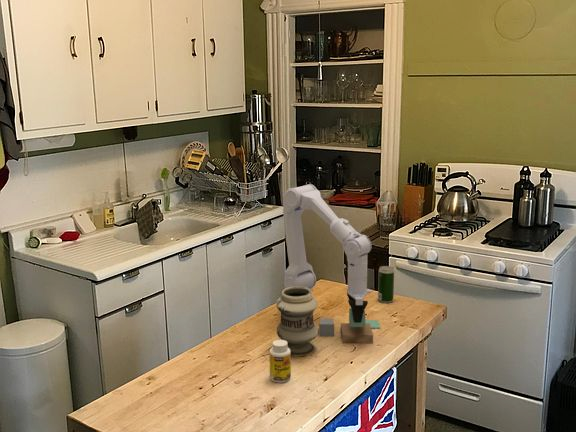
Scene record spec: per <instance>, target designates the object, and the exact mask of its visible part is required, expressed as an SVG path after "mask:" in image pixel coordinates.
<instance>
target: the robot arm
mask: <svg viewBox="0 0 576 432" xmlns="http://www.w3.org/2000/svg"><path fill="white" fill-rule="evenodd" d="M282 200H283V209H282V213H283V222H284V227H285V236H286V245H287V251H288V253H287V254H288V259H289V260H288V261H289V265H288V267H287V268H286V269H285V271H284V281H283V284H284V285H283V286H284V289H286V288H289V287H294V286H301V287H306V288H309V289H310V290H311V292H312V291H314V290H313V288H314V287H315V286H316V284H317V276H316V274H315V272H314V270H313V269H314V268H313V266H312V265H311V264H310V263H309V262H308V260H307V254H306V246H305V238H304V231H303V223H302V214H303V213H304V212H305V210H309V211H310V210H312V211H314V213H316V215H317V216H319V218H321V219H322V221H324V222H325V223H326V224H328V225H329V231H330V233H331V234H332V235H333V236H334V237H335V238H336V239H337V241H338V242H340V244H342V246H343V252H344V253H345V255H346V261H347V289H346V296H347V297H348V299H347V301H348V304H349V308H351V309H352V314H353V320H354V323H361V321H362V317H363V313H364V310H365V309H366V308H367V306H368V304H369V302H368V300H364V299H365V298H366V296H367V295H368V294H371V292H372V291H371V289H370V288H368V256H369V255H368V253H370V252H371V250H372V247H373V246H372V241H371V240H370V238H369V236H368V235H365V234H361V233H360V232H358V231H357V230H356V229H355V228H354V227H353V226H352V225H351V224H350V221H349V220H348V219H345V218H342V217H341V218H339V217H338V216H337V214H336V213H335V212H334V211H333V209H331V208H330V206H329V205H328V203H326V201H325V200H324V199H323V198H322V195H321V191H320V190H318V189H317V187H316V186H315V185H314V184H311V183H309V184H305V185H302V186H297V187H289V188H288V189H286V191H285V192H284V193H283V195H282Z"/></svg>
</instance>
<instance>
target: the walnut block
mask: <svg viewBox="0 0 576 432" xmlns="http://www.w3.org/2000/svg"><path fill="white" fill-rule="evenodd" d="M340 336H341V340H342V344H343V345H344V344H374V333H373V330H372V329H371V326H370V323H365V327H350V323H349V322H342V323H340Z"/></svg>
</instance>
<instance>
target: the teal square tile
mask: <svg viewBox="0 0 576 432" xmlns="http://www.w3.org/2000/svg"><path fill="white" fill-rule="evenodd" d="M365 323H370V326H371V329H373V330H375V329H376V330H380V329H381V326H380V322H379V320H378V319H365Z"/></svg>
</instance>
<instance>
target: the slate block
mask: <svg viewBox="0 0 576 432" xmlns="http://www.w3.org/2000/svg"><path fill="white" fill-rule="evenodd" d="M318 335H319V337H334V336H335V321H334V318H328V317H327V318H318Z"/></svg>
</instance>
